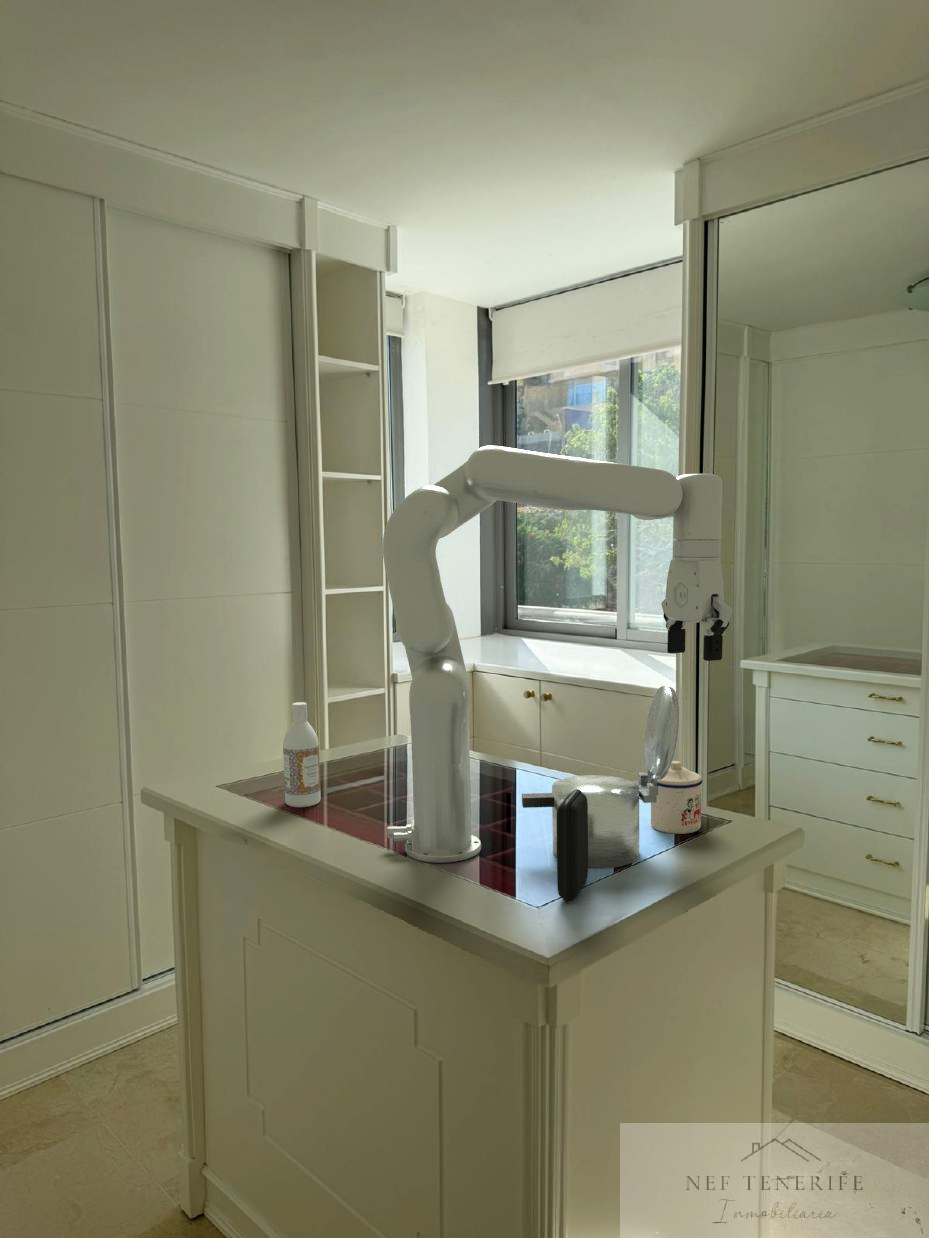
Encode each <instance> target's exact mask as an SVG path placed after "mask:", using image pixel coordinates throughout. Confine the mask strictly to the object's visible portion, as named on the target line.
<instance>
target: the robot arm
mask: <svg viewBox="0 0 929 1238" xmlns="http://www.w3.org/2000/svg"><path fill="white" fill-rule="evenodd" d="M497 501H499V502H500V501H501V502H508V503H514V504H521V505H522V504H523V505H527V506H535V507H539V508H540V507H542V508H545V509H546V508H547V509H551V510H553V509H554V510H560V511H561V510H563V511H581V510H582V511H599V512H600V511H601V512H602V511H603V512H610V513H617V514H624V515H630V516H633V517H634V518H635V519H639V520H643V521H655V520H662V519H666V518H672V519H673V520H672V522H673V524H672V557H671V559H670V561H669V566H668V571H667V577H666V578H667V579H666V585H665V586H666V588H665V598H664V600H662V601H661V604H660V605H661V608H662V613H663V619H664V620H665V629H667V643H666V644H667V650H666V651H667V653H668V654H680V653H681V654H684V653H685V652H686V636H687V635H686V633H687V631H686V628H684V627H685V625H686V623H693V624H695V623H696V624H697V623H700V622H701V624H702V626H703V629H704V630H705V633H706V635H703V649H702V651H703V652H702V653H703V654H702V655H703V657H702V659H703V660H704V661H706V662H712V661H721V660H722V659H723V640H724V639H723V638H724V637H723V636H725V635H726V630H727V629H728V627H729V625H730V620H731V618H732V615H733V612H734V611H733V608H731V606H730V605H729V604H728V603H726V601H724V600H725V599H724V598H725V597H724V595H725V594H724V593H725V591H724V577H723V568H722V567H723V566H722V562H721V561H722V560H721V555H722V554H721V553H722V552H721V550H722V549H721V548H722V547H721V546H722V515H723V514H722V513H723V512H722V511H723V509H722V508H723V481H722V479H721V477H720V476H719V475H717V474H712V473H685V474H682V475H679V476H675V475H674V474H672V472H668V471H667V470H663V469H658V468H655V467H654V468H652V467H646V466H639V465H632V464H626V463H625V464H624V463H618V462H612V461H601V460H593V459H588V458H582V457H577V456H576V457H575V456H567V455H558V454H553V453H547V452H546V453H545V452H539V451H531V450H527V449H526V450H525V449H519V448H513V447H507V446H499V445H485V446H481V447H479V448H478V449H475V451H473V452H472V453H471V455H470V456H469V457H468V460H466V461H465V462H464V463H463V464H461V465H460V466H459V467H458V468H456V469H454V470H453V471H452V472H450V473H448V474H447V475H446V476H445V477H443V478H442V479H440V480H439V481H436V483H434V484H433V485H425V486H421V487H419V488H417V489H415V490H414V491H412V492H411V493H410V494H408V495H407V496H406V497H405V498H404V499H403V500H402V501H400V503H399V504H398V505H397V506H396V507H395V508H394V510H393V511H392V513H391V514H390V516H389V518H388V520H387V523H386V526H385V528H384V531H383V532H384V533H383V539H382V556H383V557H382V558H383V563H384V569H385V574H386V578H387V583H388V589H389V594H390V599H391V605H392V608H393V611H394V618H395V625H396V633H397V636H398V638H399V640H400V642H401V643H402V645H403V646H404V649H405V653H406V658H407V663H408V665H409V670H410V675H411V678H412V679H411V682H410V685H409V686H410V687H409V694H408V697H409V698H408V702H409V703H408V704H409V706H408V707H409V719H410V720H409V721H410V722H409V723H410V734H411V736H410V739H411V764H412V765H411V766H412V796H413V797H412V799H413V800H412V801H413V802H412V803H413V819H412V822H411V823H407V824H406V826H398V825H394V826H393V825H392V826H391V825H387V834H386V835H387V839H393V842H402V841H403V842H405V841H406V842H405V844H404V848H405V851H404V852H405V853H406V854H407V856H408V857H411V858H412V859H415V860H418V861H420V862H426V863H437V864H438V863H440V864H441V863H444V864H445V863H455V862H460V861H463V860H468V859H470V858H473V857H474V856H477V855H478V854H479V853H480V852H481V849H482V842H481V840H480V839H479V838H478V837H476V835H473V834H472V802H471V801H472V800H471V799H472V797H471V794H472V793H471V757H470V722H469V721H470V715H469V714H470V690H469V689H470V688H469V678H468V673H467V669H466V665H465V660H464V656H463V652H462V647H461V643H460V638H459V634H458V628H457V625H456V620H455V615H454V613H453V609H452V608H451V607H450V605H449V603H447V600H446V597H445V594H444V589H443V585H442V580H441V575H440V569H439V564H438V561H437V554H436V552H437V551H436V550H437V545H438V542H439V540H440V539H443V538H445V537H447V536H448V535H450V534H452V532H454V531H455V530H456V529H459V527H461V526H463V525H465V523H467V522H468V521H470V520H472V519H473V518H474V517H476V516H477V515H480V514H481V513H482V512H483V511H485V510H486V509H487V508H489V507H491V506H492V505H493V504H495V503H496V502H497Z"/></svg>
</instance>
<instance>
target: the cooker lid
mask: <svg viewBox="0 0 929 1238" xmlns="http://www.w3.org/2000/svg"><path fill="white" fill-rule="evenodd" d="M654 694H655V695H654V697H653V699H652V701H651V703H650V707H649V711H648V715H647V720H646V726H645V733H644V743H643V744H644V745H643V746H644V747H643V748H644V754H643V756H644V766H645V770H646V773H647V779H646V782H647V783H656V784H657V780H661V779H663V778H664V777H665V775H666V774H667V772H668V770H669V768H670V765H671V763H672V761H673V760H674V759H673V758H674V755H675V751H676V747H677V743H678V741H677V740H678V733H679V723H680V722H679V721H680V720H679V718H680V715H679V714H680V712H679V701H678V696H677V693H676V691H675V689H674V688H673V687H671V686H665V685H664V686H660V687H659V688H658V689H657V690H656V692H655V693H654Z"/></svg>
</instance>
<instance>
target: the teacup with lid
mask: <svg viewBox="0 0 929 1238" xmlns="http://www.w3.org/2000/svg"><path fill="white" fill-rule="evenodd" d="M702 783H703V779H702V777H701V774H699V773H697V772H694V771H693V770H689V769H687V768H686V767H684V766H682V762H681V761H679V760H672V763H671V765H670V768H669V770H668V772H667V774H666V775H665V777H664V778H663V779H661V780H657V785H658V795H657V803H650V825H651V826H652V828H653V829H655V830H656V831H659V832H663V833H667V834H675V835H682V834H683V835H687V834H690V833H691V834H692V833H696V832H697V831H698V830H700V829H701V827H702Z"/></svg>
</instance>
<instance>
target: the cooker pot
mask: <svg viewBox="0 0 929 1238" xmlns="http://www.w3.org/2000/svg"><path fill="white" fill-rule="evenodd" d="M637 773H638V776H637V777H638V780H633V781H632V780H629V779H626V778H623V777H617V776H612V775H597V774H590V775H589V774H587V775H586V774H585V775H575V776H574V775H573V776H568V777H564V778H561V779H559V780H556V781H555V782H554V783H553V784H552V786H551V792H542V793H541V792H538V793H534V792H533V793H521V804H522V806H521V807H522V808H523V809H524V808H525V809H526V808H530V809H531V808H532V809H533V808H551V810H552V853H553V856H554V857H555V858H556V859H557V810H558V807H559V805H560V804H561V803H562V802H563V801H564V800H565V798H566V797H567V796H568V795H569V794H570V793H572V792H573V791H574V790H576V789H579V790H580V791H581V792H582V793H583V794H585V796H586V797H587V802H588V869H613V868H619V867H624V866H628V865H630V864H633V863H634V862H636V861H637V860H638V859H639V858H640V800H641V802H642V803H644V804H651V803H657V795H658V785H657V784H656V783H647V782H646V779H647V772H637Z"/></svg>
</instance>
